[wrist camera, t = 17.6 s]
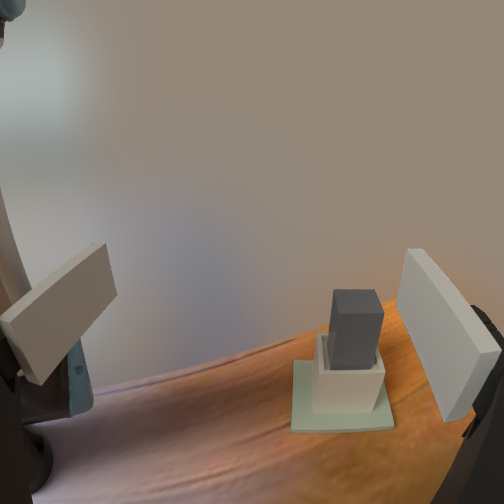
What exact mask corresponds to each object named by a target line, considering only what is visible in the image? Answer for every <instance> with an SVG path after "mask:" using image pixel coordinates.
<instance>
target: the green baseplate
mask: <svg viewBox="0 0 504 504" xmlns="http://www.w3.org/2000/svg"><path fill="white" fill-rule="evenodd" d="M312 367H313V360H294V363H293V392H292V416H291V433H348V432H365V431H378V430H389V429H393V428H394V426H395V425H394V421H393V416H392V412H391V408H390V404H389V400H388V396H387V392H386V388H385V384H384V380H383V382H382V385H381V388H380V391H379V394H378V397H377V400H376V402H375V405H374V408H373V410H372V412H357V413H317V414H314V413H313V396H312Z"/></svg>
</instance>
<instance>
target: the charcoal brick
mask: <svg viewBox="0 0 504 504" xmlns="http://www.w3.org/2000/svg"><path fill="white" fill-rule="evenodd" d="M383 318H384V310H383V308H382V306H381V303H380V301H379V299H378V297H377V294H376V292H375V290H341V289H337V290H335V289H334V292H333V300H332V309H331V319H330V326H329V333H328V341H327V349H328V357H329V366H330V370H371V366H372V363H373V359H374V355H375V351H376V347H377V343H378V339H379V335H380V331H381V327H382V322H383Z"/></svg>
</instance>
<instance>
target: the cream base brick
mask: <svg viewBox="0 0 504 504" xmlns="http://www.w3.org/2000/svg"><path fill="white" fill-rule="evenodd" d="M327 341H328V333H319V332H316V341H315V350H314V358H313V367H312V396H313V413H314V414H317V413H357V412H372V410H373V408H374V405H375V402H376V400H377V397H378V394H379V391H380V388H381V385H382V382H383V379H384V376H385V373H386V371H385V368H384V365H383V361H382V358H381V354H380V351H379V348H378V344H377V347H376V351H375V355H374V359H373V363H372V366H371V370H330V366H329V357H328V349H327Z"/></svg>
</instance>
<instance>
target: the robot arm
mask: <svg viewBox="0 0 504 504" xmlns="http://www.w3.org/2000/svg"><path fill="white" fill-rule="evenodd" d="M25 5H26V0H0V48H1V47H2V46H3V42H4V26H5V22H6V21H9V22H11V21H13V20H14V19H15V18H17V17H18V16H20V15H21V14H22V13H23V11H24V9H25ZM116 296H117V292H116V288H115V284H114V279H113V275H112V271H111V266H110V262H109V257H108V252H107V247H106V243H92V244H91V245H89V246H88V247H87V248H85V249H84V250H82V251H81V252H80V253H78V254H77V255H76V256H74V257H73V258H72V259H70V260H69V261H68V262H66V263H65V264H64V265H62V266H61V267H60V268H58V269H57V270H56V271H54V272H53V273H52V274H51V275H49V276H48V277H47V278H46V279H44V280H43V281H42V282H40V283H39V284H38V285H37V286H36V287H34V288H33V289H32V288H31V285H30V282H29V280H28V277H27V275H26V272H25V269H24V267H23V264H22V261H21V258H20V255H19V252H18V249H17V247H16V243H15V240H14V237H13V234H12V230H11V227H10V224H9V220H8V217H7V213H6V209H5V205H4V201H3V197H2V193H1V189H0V504H33V501H32V496H31V493H33V492H35V491H36V490H38V489H39V488H40V487H41V486H42V485H43V484H44V483H45V481H46V480H47V478H48V476H49V474H50V472H51V468H52V463H53V455H52V450H51V446H50V444H49V442H48V440H47V439H46V438H45V436H44V435H43V434H42V432H41V431H40V430H39V429H38V428H37V427H36V426H35V425H33V424H35V423H40V422H46V421H51V420H57V419H62V418H67V417H68V418H71V417H73V416H74V415H77V414H80V413H84V412H87V411H89V410H90V409H91V408H92V406H93V403H94V398H93V392H92V388H91V383H90V379H89V374H88V370H87V366H86V362H85V358H84V353H83V349H82V345H81V340H80V337H81V336H82V335H83V334H84V333H85V332H86V330H87V329H88V328H89V327H90V326H91V325H92V323H93V322H94V321H95V320H96V319H97V318H98V316H99V315H100V314H101V313H102V312H103V311H104V310H105V308H106V307H107V306H108V305H109V304H110V303H111V302H112V301H113V299H114V298H115V297H116ZM396 307H397V310H398V312H399V314H400V316H401V318H402V320H403V322H404V325H405V327H406V329H407V331H408V333H409V336H410V338H411V340H412V343H413V345H414V347H415V349H416V352H417V354H418V357H419V359H420V361H421V364H422V366H423V369H424V371H425V374H426V376H427V379H428V381H429V384H430V386H431V389H432V391H433V394H434V397H435V399H436V402H437V405H438V408H439V410H440V413H441V416H442V419H443V422H444V423H446V422H451V421H456V420H461V419H464V418H465V417H466V415H467V413H468V412H469V410H470V409H471V407H472V406H473V408H474V411H475V413H476V416H475V417H474V419H473V420H472V422H471V423H470V425H469V426H468V428H467V429H466V431H465V432H464V433H463V435H462V436H461V437H465V438H464V441H463V443H462V445H461V447H460V449H459V451H458V453H457V456H456V458H455V460H454V462H453V464H452V466H451V468H450V469H449V471H448V473H447V475H446V477H445V479H444V481H443V482H442V484H441V486H440V488H439V490H438V491H437V493H436V495H435V496H434V498H433V500H432V501H431V503H430V504H504V338H503V336H502V335H501V334H500V332H499V331H497V328H496V327H495V326H494V324H493V323H491V320H490V319H489V318H488V316H487V315H486V314H485V313H484V312H483V311H482V310H480V309H479V308H478V307H476V306H475V305H469V304H468V303H467V301H466V300H465V299H464V297H463V296H462V295H461V294H460V293H459V291H458V290H457V289H456V287H455V286H454V285H453V284H452V282H451V281H450V280H449V279H448V278H447V276H446V275H445V274H444V273H443V272H442V270H441V269H440V268H439V267H438V266H437V265H436V263H435V262H434V261H433V260H432V259H431V258H430V257H429V255H428V254H427V253H426V252H425V251H424V250H423V249H411V248H409V249H408V248H407V249H406V255H405V261H404V267H403V272H402V277H401V283H400V288H399V293H398V297H397V302H396Z"/></svg>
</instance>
